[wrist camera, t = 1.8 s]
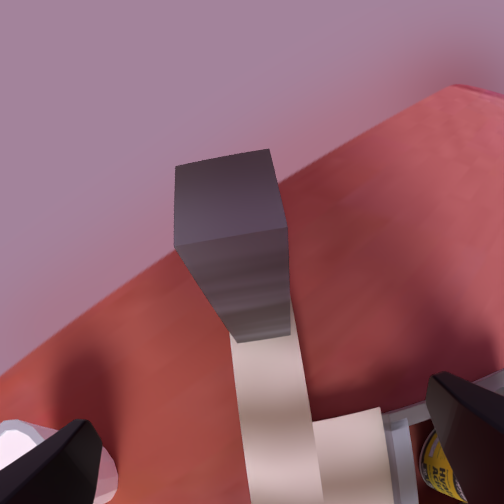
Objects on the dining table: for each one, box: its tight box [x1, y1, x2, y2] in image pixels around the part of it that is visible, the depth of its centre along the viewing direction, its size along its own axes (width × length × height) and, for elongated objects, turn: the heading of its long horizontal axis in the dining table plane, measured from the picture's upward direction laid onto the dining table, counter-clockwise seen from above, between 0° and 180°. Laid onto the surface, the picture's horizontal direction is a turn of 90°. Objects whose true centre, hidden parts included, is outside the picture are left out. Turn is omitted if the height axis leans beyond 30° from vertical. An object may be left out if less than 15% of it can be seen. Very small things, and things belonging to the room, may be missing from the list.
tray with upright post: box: [174, 149, 504, 504], centre depth 11 cm, size 19×18×13 cm
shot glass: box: [0, 420, 118, 504], centre depth 14 cm, size 7×7×7 cm
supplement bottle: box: [419, 428, 467, 503], centre depth 11 cm, size 5×5×10 cm
